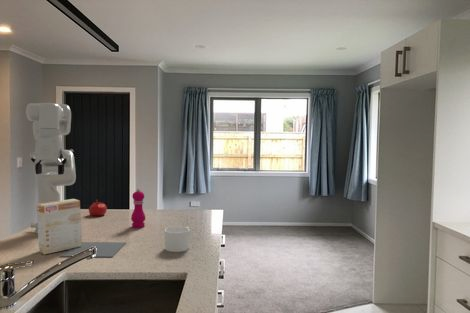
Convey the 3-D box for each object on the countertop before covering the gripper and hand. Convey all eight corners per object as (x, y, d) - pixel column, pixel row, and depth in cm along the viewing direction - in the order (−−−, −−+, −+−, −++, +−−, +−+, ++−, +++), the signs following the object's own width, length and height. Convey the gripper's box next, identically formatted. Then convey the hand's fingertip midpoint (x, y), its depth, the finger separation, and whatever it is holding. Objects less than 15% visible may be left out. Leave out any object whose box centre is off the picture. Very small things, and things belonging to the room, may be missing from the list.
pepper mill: (132, 228, 187) (132, 189, 186) (129, 225, 194) (129, 187, 193) (147, 227, 191) (147, 188, 190) (143, 224, 197) (143, 187, 196)
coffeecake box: (75, 243, 159) (73, 198, 158) (82, 246, 154) (80, 200, 153) (38, 251, 149) (35, 203, 148) (44, 255, 144) (41, 205, 143)
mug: (178, 254, 148) (178, 234, 148) (159, 249, 154) (159, 230, 153) (199, 246, 160) (199, 227, 159) (180, 242, 165) (180, 224, 165)
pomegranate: (103, 217, 212) (103, 201, 212) (85, 217, 213) (85, 201, 212) (109, 213, 222) (109, 198, 222) (92, 213, 222) (92, 198, 222)
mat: (60, 257, 142) (60, 256, 142) (79, 242, 161) (79, 242, 161) (112, 257, 143) (112, 256, 143) (126, 243, 162) (126, 242, 162)
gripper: (23, 132, 151) (24, 174, 152) (64, 133, 149) (64, 175, 150) (35, 133, 158) (35, 172, 159) (74, 133, 157) (74, 173, 157)
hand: (49, 174), depth 154 cm, fingers open, 9 cm apart
